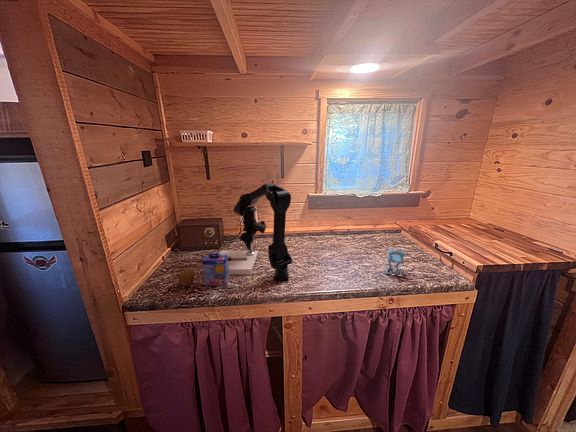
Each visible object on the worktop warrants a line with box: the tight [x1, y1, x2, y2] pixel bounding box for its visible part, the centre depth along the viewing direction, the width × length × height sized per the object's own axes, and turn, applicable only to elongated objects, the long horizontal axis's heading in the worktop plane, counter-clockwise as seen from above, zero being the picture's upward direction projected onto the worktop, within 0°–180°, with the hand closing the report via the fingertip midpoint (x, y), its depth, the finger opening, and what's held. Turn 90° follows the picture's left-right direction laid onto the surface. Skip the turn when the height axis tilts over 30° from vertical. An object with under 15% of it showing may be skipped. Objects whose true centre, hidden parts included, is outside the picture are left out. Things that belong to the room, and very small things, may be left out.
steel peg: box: [246, 242, 256, 256], centre depth 119 cm, size 4×4×9 cm
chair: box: [384, 247, 406, 277], centre depth 107 cm, size 8×8×12 cm
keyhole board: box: [218, 249, 259, 276], centre depth 115 cm, size 20×20×3 cm
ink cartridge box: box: [201, 253, 230, 286], centre depth 98 cm, size 10×6×14 cm, turn 94°
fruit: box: [178, 267, 195, 287], centre depth 97 cm, size 6×6×8 cm
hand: (250, 246), depth 119 cm, fingers open, 7 cm apart
